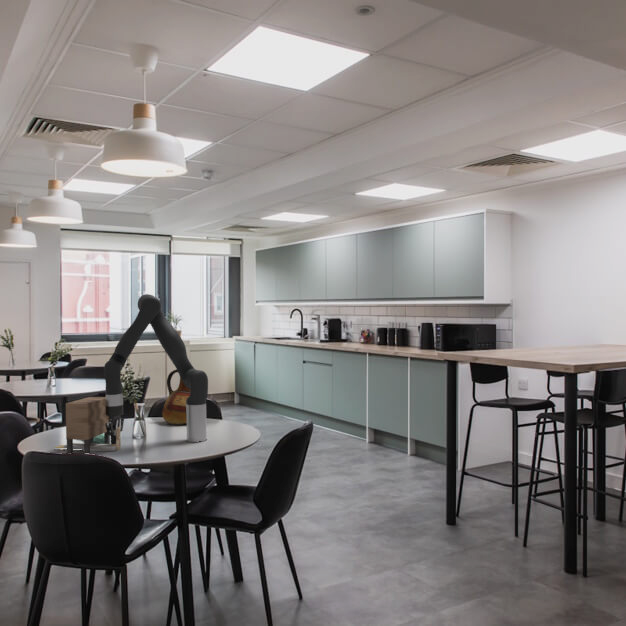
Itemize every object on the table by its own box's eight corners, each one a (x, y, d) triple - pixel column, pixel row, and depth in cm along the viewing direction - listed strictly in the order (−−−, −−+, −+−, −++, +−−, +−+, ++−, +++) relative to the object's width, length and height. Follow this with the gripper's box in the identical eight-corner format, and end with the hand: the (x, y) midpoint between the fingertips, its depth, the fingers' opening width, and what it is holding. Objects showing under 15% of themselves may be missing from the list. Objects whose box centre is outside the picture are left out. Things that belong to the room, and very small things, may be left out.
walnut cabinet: (90, 444, 288) (89, 396, 288) (110, 444, 287) (109, 397, 286) (66, 454, 268) (65, 403, 268) (88, 454, 267) (87, 403, 267)
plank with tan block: (70, 447, 281) (69, 425, 281) (121, 448, 278) (121, 426, 278) (64, 450, 276) (63, 427, 276) (116, 451, 273) (116, 428, 273)
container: (108, 431, 288) (83, 424, 306) (97, 438, 284) (73, 430, 302) (113, 442, 290) (88, 434, 307) (102, 449, 286) (77, 440, 303)
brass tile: (60, 448, 282) (60, 445, 282) (70, 448, 282) (70, 445, 282) (54, 450, 277) (54, 447, 277) (64, 451, 277) (64, 447, 277)
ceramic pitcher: (194, 426, 329) (193, 370, 329) (157, 426, 331) (156, 370, 331) (203, 420, 349) (203, 366, 349) (168, 420, 350) (167, 367, 350)
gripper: (114, 406, 268) (116, 446, 268) (129, 401, 282) (130, 439, 282) (98, 406, 269) (99, 446, 269) (113, 401, 283) (114, 439, 283)
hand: (115, 442), depth 275 cm, fingers closed on plank with tan block, 3 cm apart
